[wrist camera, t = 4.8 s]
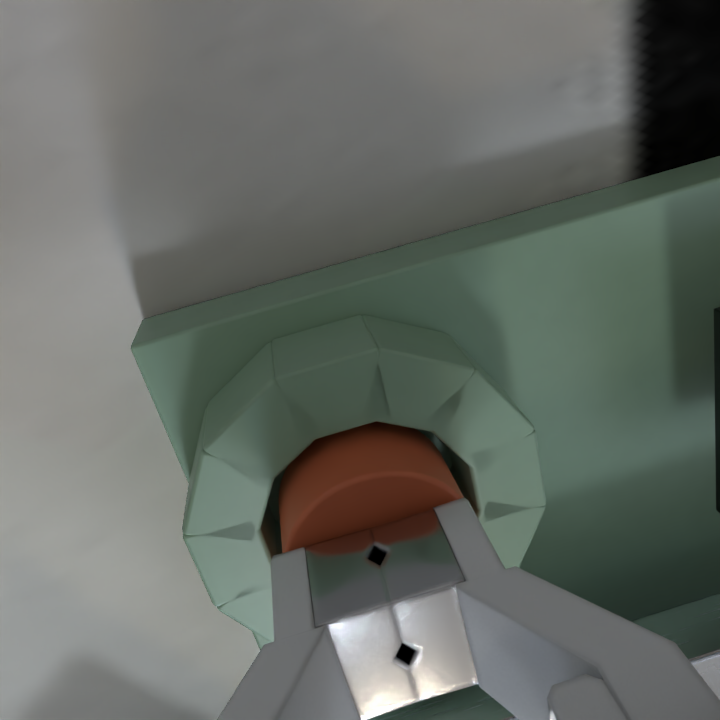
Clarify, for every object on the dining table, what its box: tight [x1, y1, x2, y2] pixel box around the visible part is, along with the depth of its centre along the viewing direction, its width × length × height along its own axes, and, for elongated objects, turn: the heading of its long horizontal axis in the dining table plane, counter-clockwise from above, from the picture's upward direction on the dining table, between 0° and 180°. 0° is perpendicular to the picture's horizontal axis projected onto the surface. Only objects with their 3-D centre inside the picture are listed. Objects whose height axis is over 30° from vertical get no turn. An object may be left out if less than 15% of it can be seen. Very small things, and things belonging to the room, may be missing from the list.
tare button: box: [279, 421, 463, 553], centre depth 11 cm, size 3×3×2 cm
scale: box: [131, 156, 720, 650], centre depth 14 cm, size 18×16×3 cm
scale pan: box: [367, 307, 720, 720], centre depth 13 cm, size 16×14×1 cm
